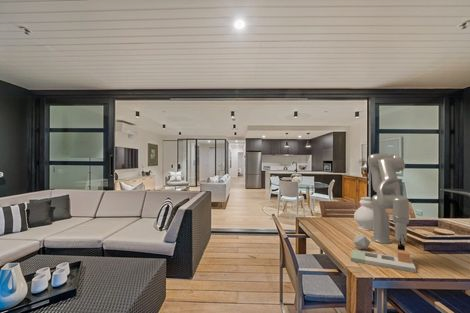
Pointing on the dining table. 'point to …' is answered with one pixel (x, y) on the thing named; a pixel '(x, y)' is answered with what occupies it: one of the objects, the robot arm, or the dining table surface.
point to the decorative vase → (364, 214)
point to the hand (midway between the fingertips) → (401, 252)
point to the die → (361, 242)
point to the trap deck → (381, 260)
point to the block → (403, 256)
